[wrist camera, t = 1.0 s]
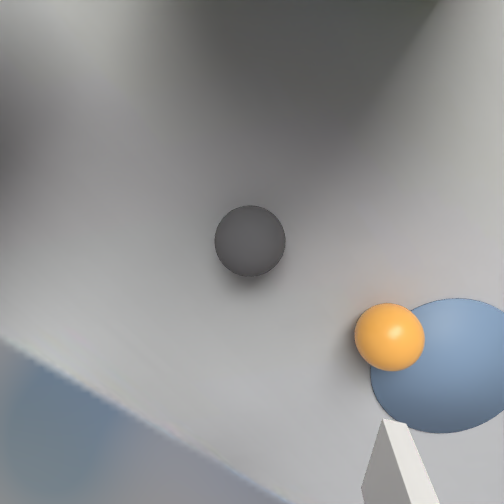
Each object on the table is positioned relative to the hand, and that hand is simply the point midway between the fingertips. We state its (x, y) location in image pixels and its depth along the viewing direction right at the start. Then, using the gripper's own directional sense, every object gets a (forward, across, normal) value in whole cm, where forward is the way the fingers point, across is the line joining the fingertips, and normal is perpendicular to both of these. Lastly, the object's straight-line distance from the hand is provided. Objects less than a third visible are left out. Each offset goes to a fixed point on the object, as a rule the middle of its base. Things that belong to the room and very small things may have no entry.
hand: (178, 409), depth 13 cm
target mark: (+24, +20, -8) cm, 32 cm away
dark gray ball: (+19, 0, +2) cm, 19 cm away
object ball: (+20, +13, -4) cm, 24 cm away
